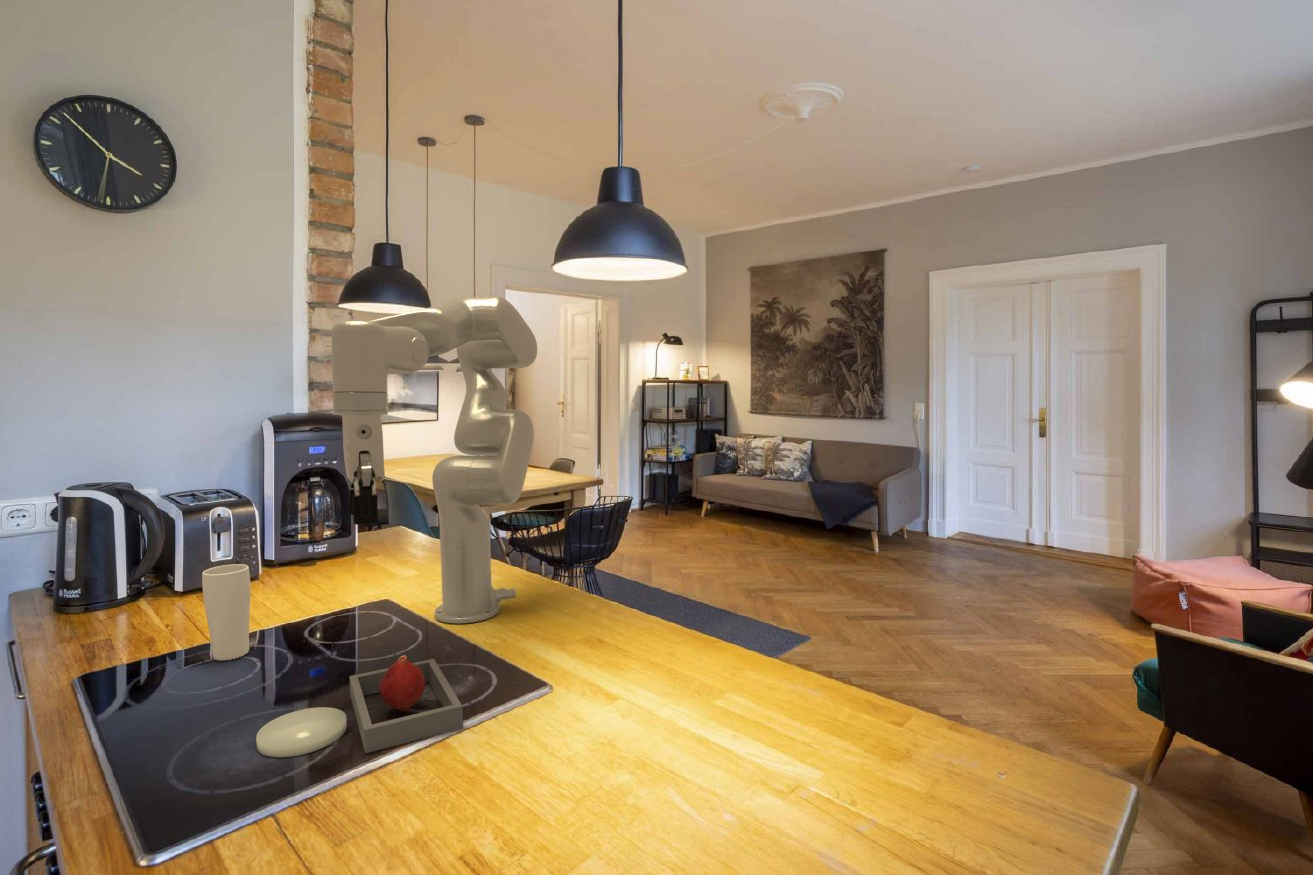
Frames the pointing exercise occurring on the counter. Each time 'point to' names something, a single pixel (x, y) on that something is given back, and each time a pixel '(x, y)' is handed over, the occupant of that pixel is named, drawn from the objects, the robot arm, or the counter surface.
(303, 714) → the cream oval pebble
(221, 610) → the drinking glass
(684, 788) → the counter surface
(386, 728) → the crate
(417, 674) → the onion
